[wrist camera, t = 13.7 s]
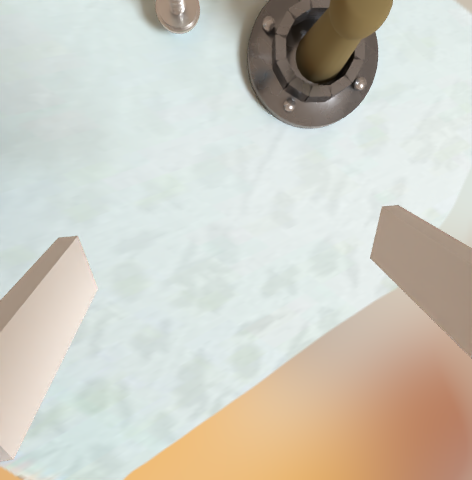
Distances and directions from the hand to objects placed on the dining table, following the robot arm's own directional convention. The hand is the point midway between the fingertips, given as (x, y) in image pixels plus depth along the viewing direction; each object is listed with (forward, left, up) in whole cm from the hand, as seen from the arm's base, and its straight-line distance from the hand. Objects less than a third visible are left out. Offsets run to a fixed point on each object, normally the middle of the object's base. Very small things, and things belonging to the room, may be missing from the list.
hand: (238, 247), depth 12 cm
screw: (-15, +18, -25) cm, 34 cm away
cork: (+2, +22, -23) cm, 32 cm away
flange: (+1, +22, -24) cm, 33 cm away
